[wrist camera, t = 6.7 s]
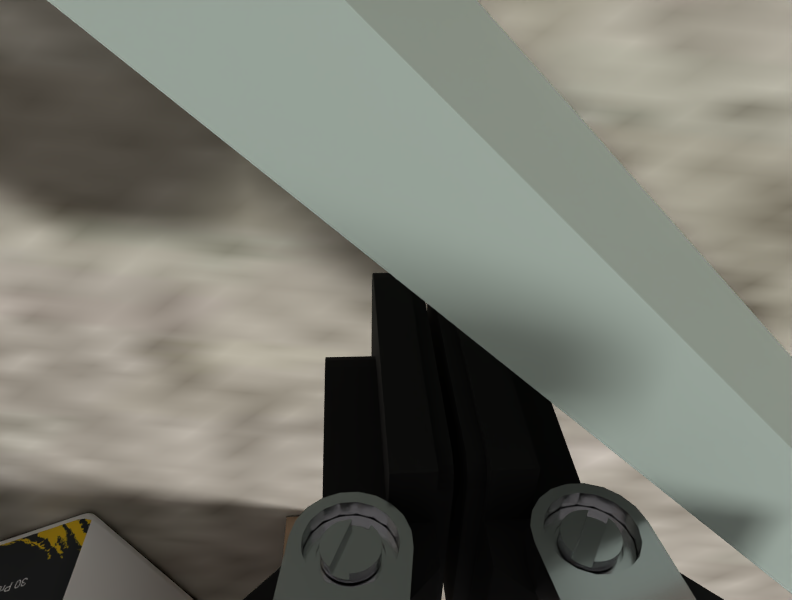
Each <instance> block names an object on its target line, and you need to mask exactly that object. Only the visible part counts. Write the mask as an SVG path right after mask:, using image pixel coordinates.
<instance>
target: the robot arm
mask: <svg viewBox="0 0 792 600" xmlns="http://www.w3.org/2000/svg"><path fill="white" fill-rule="evenodd" d="M443 584H444V591H445V598H446V600H723V599H722V598H720V597H719V596H717V595H715V594H714V593H712V592H710V591H709V590H707V589H706V588H704V587H702V586H701V585H699V584H697V583H696V582H694V581H693V580H691V579H689V578H688V577H686V576H684V575H683V574H681V573H680V572H679V571H678V569H677V568H676V566H675V564H674V563H673V561H672V560H671V558H670V556H669V555H668V553H667V552H666V550H665V548H664V547H663V545H662V543H661V542H660V540H659V539H658V537H657V535H656V534H655V532H654V531H653V529H652V527H651V526H650V524H649V522H648V521H647V520H646V519H645V517H644V516H643V515H642V514H641V512H640V511H639V510H638V509H637V508H636V507H635V506H634V505H633V504H631V503H630V502H629V501H627V500H626V499H625V498H623V497H622V496H621V495H619V494H617V493H614V492H612V491H610V490H608V489H606V488H603V487H599V486H595V485H590V484H585V483H580V480H579V477H578V475H577V472H576V469H575V466H574V464H573V461H572V458H571V455H570V453H569V450H568V447H567V445H566V442H565V439H564V436H563V434H562V431H561V428H560V425H559V423H558V420H557V417H556V414H555V412H554V409H553V406H552V403H551V402H550V401H549V400H548V399H547V398H545V397H544V396H543V395H542V394H540V393H539V392H538V391H537V390H535V389H534V388H533V387H532V386H530V385H529V384H528V383H527V382H525V381H524V380H523V379H522V378H520V377H519V376H518V375H517V374H515V373H514V372H513V371H511V370H510V369H509V368H508V367H506V366H505V365H504V364H503V363H501V362H500V361H499V360H498V359H496V358H495V357H494V356H493V355H491V354H490V353H489V352H488V351H486V350H485V349H484V348H483V347H481V346H480V345H479V344H478V343H476V342H475V341H474V340H473V339H471V338H470V337H469V336H468V335H466V334H465V333H464V332H463V331H461V330H460V329H459V328H458V327H456V326H455V325H454V324H453V323H451V322H450V321H449V320H447V319H446V318H445V317H444V316H442V315H441V314H440V313H439V312H437V311H436V310H435V309H434V308H432V307H431V306H430V305H429V304H428V306H427V309H426V304H425V301H424V300H422V299H421V298H420V297H419V296H417V295H416V294H415V293H414V292H412V291H411V290H410V289H409V288H407V287H406V286H405V285H404V284H402V283H401V282H400V281H399V280H397V279H396V278H395V277H394V276H392V275H391V274H390V273H373V275H372V356H365V357H326V359H325V402H324V454H323V498H322V499H320V500H319V501H317V502H315V503H314V504H312V505H311V506H309V507H307V508H306V509H305V511H304V512H303V513H302V514H301V515H300V516H299V517H298V518H297V519H296V521H295V523H294V525H293V527H292V529H291V532H290V534H289V536H288V540H287V544H286V548H285V553H284V557H283V561H282V565H281V567H280V568H279V569H278V570H277V571H276V572H274V573H273V574H272V575H271V576H270V577H269V578H267V579H266V580H265V581H264V582H263V583H262V584H261V585H259V586H258V587H257V588H256V589H255V590H254V591H253V592H251V593H250V594H249V595H248V596H247V597H246V598H244V599H243V600H441V597H442V588H443Z"/></svg>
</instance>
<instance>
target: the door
mask: <svg viewBox="0 0 792 600" xmlns="http://www.w3.org/2000/svg"><path fill="white" fill-rule="evenodd" d="M47 1H48V2H50V3H51V4H52V5H53V6H55V7H56V8H57V9H58V10H60V11H61V12H62V13H63V14H65V15H66V16H67V17H68V18H70V19H71V20H72V21H74V22H75V23H76V24H77V25H79V26H80V27H81V28H82V29H84V30H85V31H86V32H87V33H89V34H90V35H91V36H92V37H94V38H95V39H96V40H97V41H99V42H100V43H101V44H102V45H104V46H105V47H106V48H107V49H109V50H110V51H111V52H112V53H114V54H115V55H116V56H117V57H119V58H120V59H121V60H122V61H124V62H125V63H126V64H127V65H129V66H130V67H131V68H132V69H134V70H135V71H136V72H138V73H139V74H140V75H141V76H143V77H144V78H145V79H146V80H148V81H149V82H150V83H151V84H153V85H154V86H155V87H156V88H158V89H159V90H160V91H161V92H163V93H164V94H165V95H166V96H168V97H169V98H170V99H171V100H173V101H174V102H175V103H176V104H178V105H179V106H180V107H181V108H183V109H184V110H185V111H186V112H188V113H189V114H190V115H191V116H193V117H194V118H195V119H196V120H198V121H199V122H200V123H202V124H203V125H204V126H205V127H207V128H208V129H209V130H210V131H212V132H213V133H214V134H215V135H217V136H218V137H219V138H220V139H222V140H223V141H224V142H225V143H227V144H228V145H229V146H230V147H232V148H233V149H234V150H235V151H237V152H238V153H239V154H240V155H242V156H243V157H244V158H245V159H247V160H248V161H249V162H250V163H252V164H253V165H254V166H255V167H257V168H258V169H259V170H260V171H262V172H263V173H264V174H266V175H267V176H268V177H269V178H271V179H272V180H273V181H274V182H276V183H277V184H278V185H279V186H281V187H282V188H283V189H284V190H286V191H287V192H288V193H289V194H291V195H292V196H293V197H294V198H296V199H297V200H298V201H299V202H301V203H302V204H303V205H304V206H306V207H307V208H308V209H309V210H311V211H312V212H313V213H314V214H316V215H317V216H318V217H319V218H321V219H322V220H323V221H324V222H326V223H327V224H328V225H330V226H331V227H332V228H333V229H335V230H336V231H337V232H338V233H340V234H341V235H342V236H343V237H345V238H346V239H347V240H348V241H350V242H351V243H352V244H353V245H355V246H356V247H357V248H358V249H360V250H361V251H362V252H363V253H365V254H366V255H367V256H368V257H370V258H371V259H372V260H373V261H375V262H376V263H377V264H378V265H380V266H381V267H382V268H383V269H385V270H386V271H387V272H388V273H390V274H391V275H392V276H394V277H395V278H396V279H397V280H399V281H400V282H401V283H402V284H404V285H405V286H406V287H407V288H409V289H410V290H411V291H412V292H414V293H415V294H416V295H417V296H419V297H420V298H421V299H422V300H424V301H425V302H426V303H427V304H429V305H430V306H431V307H432V308H434V309H435V310H436V311H437V312H439V313H440V314H441V315H442V316H444V317H445V318H446V319H447V320H449V321H450V322H451V323H453V324H454V325H455V326H456V327H458V328H459V329H460V330H461V331H463V332H464V333H465V334H466V335H468V336H469V337H470V338H471V339H473V340H474V341H475V342H476V343H478V344H479V345H480V346H481V347H483V348H484V349H485V350H486V351H488V352H489V353H490V354H491V355H493V356H494V357H495V358H496V359H498V360H499V361H500V362H501V363H503V364H504V365H505V366H506V367H508V368H509V369H510V370H511V371H513V372H514V373H515V374H517V375H518V376H519V377H520V378H522V379H523V380H524V381H525V382H527V383H528V384H529V385H530V386H532V387H533V388H534V389H535V390H537V391H538V392H539V393H540V394H542V395H543V396H544V397H545V398H547V399H548V400H549V401H550V402H552V403H553V404H554V405H555V406H557V407H558V408H559V409H560V410H562V411H563V412H564V413H565V414H567V415H568V416H569V417H570V418H572V419H573V420H574V421H575V422H577V423H578V424H579V425H581V426H582V427H583V428H584V429H586V430H587V431H588V432H589V433H591V434H592V435H593V436H594V437H596V438H597V439H598V440H599V441H601V442H602V443H603V444H604V445H606V446H607V447H608V448H609V449H611V450H612V451H613V452H614V453H616V454H617V455H618V456H619V457H621V458H622V459H623V460H624V461H626V462H627V463H628V464H629V465H631V466H632V467H633V468H634V469H636V470H637V471H638V472H639V473H641V474H642V475H643V476H645V477H646V478H647V479H648V480H650V481H651V482H652V483H653V484H655V485H656V486H657V487H658V488H660V489H661V490H662V491H663V492H665V493H666V494H667V495H668V496H670V497H671V498H672V499H673V500H675V501H676V502H677V503H678V504H680V505H681V506H682V507H683V508H685V509H686V510H687V511H688V512H690V513H691V514H692V515H693V516H695V517H696V518H697V519H698V520H700V521H701V522H702V523H703V524H705V525H706V526H707V527H709V528H710V529H711V530H712V531H714V532H715V533H716V534H717V535H719V536H720V537H721V538H722V539H724V540H725V541H726V542H727V543H729V544H730V545H731V546H732V547H734V548H735V549H736V550H737V551H739V552H740V553H741V554H742V555H744V556H745V557H746V558H747V559H749V560H750V561H751V562H752V563H754V564H755V565H756V566H757V567H759V568H760V569H761V570H762V571H764V572H765V573H766V574H767V575H769V576H770V577H771V578H773V579H774V580H775V581H776V582H778V583H779V584H780V585H781V586H783V587H784V588H785V589H786V590H788V591H789V592H790V593H791V594H792V357H791V356H790V354H789V353H788V352H787V351H786V350H785V349H784V348H783V347H782V345H781V344H780V343H779V342H778V341H777V340H776V339H775V337H774V336H773V335H772V334H771V333H770V332H769V331H768V330H767V328H766V327H765V326H764V325H763V324H762V323H761V322H760V320H759V319H758V318H757V317H756V316H755V315H754V314H753V313H752V311H751V310H750V309H749V308H748V307H747V306H746V305H745V303H744V302H743V301H742V300H741V299H740V298H739V297H738V296H737V294H736V293H735V292H734V291H733V290H732V289H731V288H730V286H729V285H728V284H727V283H726V282H725V281H724V280H723V279H722V277H721V276H720V275H719V274H718V273H717V272H716V271H715V269H714V268H713V267H712V266H711V265H710V264H709V263H708V262H707V260H706V259H705V258H704V257H703V256H702V255H701V254H700V252H699V251H698V250H697V249H696V248H695V247H694V246H693V245H692V243H691V242H690V241H689V240H688V239H687V238H686V237H685V235H684V234H683V233H682V232H681V231H680V230H679V229H678V228H677V226H676V225H675V224H674V223H673V222H672V221H671V220H670V218H669V217H668V216H667V215H666V214H665V213H664V212H663V211H662V209H661V208H660V207H659V206H658V205H657V204H656V203H655V201H654V200H653V199H652V198H651V197H650V196H649V195H648V194H647V192H646V191H645V190H644V189H643V188H642V187H641V186H640V184H639V183H638V182H637V181H636V180H635V179H634V178H633V177H632V175H631V174H630V173H629V172H628V171H627V170H626V169H625V167H624V166H623V165H622V164H621V163H620V162H619V161H618V160H617V158H616V157H615V156H614V155H613V154H612V153H611V152H610V150H609V149H608V148H607V147H606V146H605V145H604V144H603V143H602V141H601V140H600V139H599V138H598V137H597V136H596V135H595V133H594V132H593V131H592V130H591V129H590V128H589V127H588V126H587V124H586V123H585V122H584V121H583V120H582V119H581V118H580V116H579V115H578V114H577V113H576V112H575V111H574V110H573V109H572V107H571V106H570V105H569V104H568V103H567V102H566V101H565V99H564V98H563V97H562V96H561V95H560V94H559V93H558V92H557V90H556V89H555V88H554V87H553V86H552V85H551V84H550V82H549V81H548V80H547V79H546V78H545V77H544V76H543V75H542V73H541V72H540V71H539V70H538V69H537V68H536V67H535V65H534V64H533V63H532V62H531V61H530V60H529V59H528V58H527V56H526V55H525V54H524V53H523V52H522V51H521V50H520V48H519V47H518V46H517V45H516V44H515V43H514V42H513V41H512V39H511V38H510V37H509V36H508V35H507V34H506V33H505V31H504V30H503V29H502V28H501V27H500V26H499V25H498V24H497V22H496V21H495V20H494V19H493V18H492V17H491V16H490V14H489V13H488V12H487V11H486V10H485V9H484V8H483V7H482V5H481V4H480V3H479V2H478V1H477V0H47Z"/></svg>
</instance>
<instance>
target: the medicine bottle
mask: <svg viewBox="0 0 792 600" xmlns="http://www.w3.org/2000/svg"><path fill="white" fill-rule="evenodd" d="M0 600H194V599H193V598H191V597H190V596H189V595H188V594H187V593H186V592H184V591H183V590H182V589H181V588H180V587H179V586H177V585H176V584H175V583H174V582H173V581H172V580H170V579H169V578H168V577H167V576H166V575H165V574H163V573H162V572H161V571H160V570H159V569H158V568H156V567H155V566H154V565H153V564H152V563H151V562H149V561H148V560H147V559H146V558H145V557H144V556H142V555H141V554H140V553H139V552H138V551H137V550H135V549H134V548H133V547H132V546H131V545H130V544H128V543H127V542H126V541H125V540H124V539H123V538H121V537H120V536H119V535H118V534H117V533H116V532H114V531H113V530H112V529H111V528H110V527H109V526H107V525H106V524H105V523H104V522H103V521H102V520H100V519H99V518H98V517H97V516H96V515H94V514H92V513H85V514H82V515H79V516H76V517H73V518H70V519H67V520H64V521H61V522H58V523H55V524H52V525H49V526H46V527H43V528H40V529H37V530H34V531H31V532H28V533H25V534H22V535H19V536H16V537H13V538H10V539H7V540H4V541H1V542H0Z"/></svg>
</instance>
